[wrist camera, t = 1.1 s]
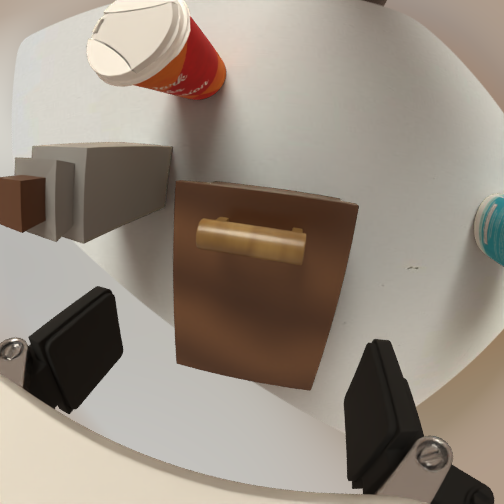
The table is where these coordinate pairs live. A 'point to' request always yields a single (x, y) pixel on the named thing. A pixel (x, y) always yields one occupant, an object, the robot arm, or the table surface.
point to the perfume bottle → (84, 188)
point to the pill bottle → (491, 227)
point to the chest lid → (257, 279)
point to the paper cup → (155, 49)
